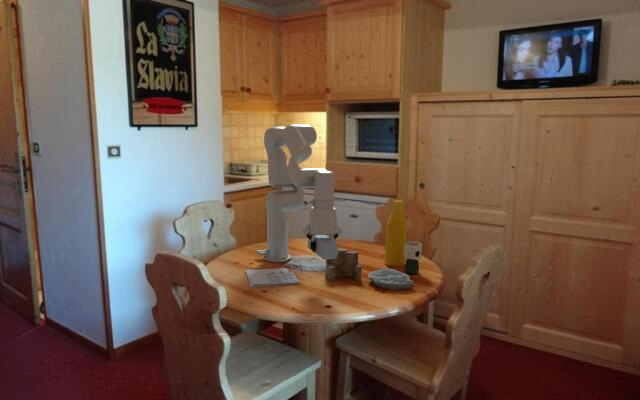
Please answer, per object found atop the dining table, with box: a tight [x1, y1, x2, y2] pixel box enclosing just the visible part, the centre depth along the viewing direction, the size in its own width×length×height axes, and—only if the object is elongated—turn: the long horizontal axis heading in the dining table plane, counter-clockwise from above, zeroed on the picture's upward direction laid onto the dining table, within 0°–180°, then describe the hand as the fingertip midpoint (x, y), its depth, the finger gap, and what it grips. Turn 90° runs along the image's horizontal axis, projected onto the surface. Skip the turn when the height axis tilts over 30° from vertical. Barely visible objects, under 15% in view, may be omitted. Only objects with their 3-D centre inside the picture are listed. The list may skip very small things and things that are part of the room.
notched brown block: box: [325, 248, 363, 283], centre depth 192 cm, size 13×9×11 cm, turn 100°
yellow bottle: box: [384, 199, 408, 268], centre depth 212 cm, size 9×9×29 cm
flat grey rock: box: [367, 268, 415, 291], centre depth 188 cm, size 20×17×3 cm
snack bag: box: [244, 267, 300, 288], centre depth 191 cm, size 19×20×2 cm
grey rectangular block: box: [307, 230, 338, 261], centre depth 179 cm, size 5×16×7 cm, turn 23°
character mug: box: [403, 241, 423, 275], centre depth 201 cm, size 11×7×13 cm, turn 145°
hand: (321, 250), depth 179 cm, fingers closed on grey rectangular block, 5 cm apart
